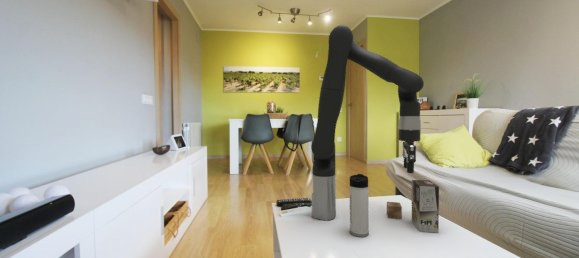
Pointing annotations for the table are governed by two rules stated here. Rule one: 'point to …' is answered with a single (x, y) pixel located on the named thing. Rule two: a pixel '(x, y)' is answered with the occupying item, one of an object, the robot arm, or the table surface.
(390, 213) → the walnut block
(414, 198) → the coffee box
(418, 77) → the robot arm
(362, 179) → the travel mug
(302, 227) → the table surface
